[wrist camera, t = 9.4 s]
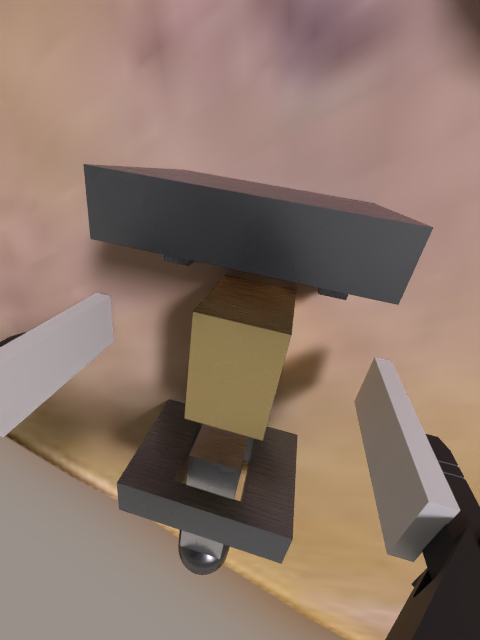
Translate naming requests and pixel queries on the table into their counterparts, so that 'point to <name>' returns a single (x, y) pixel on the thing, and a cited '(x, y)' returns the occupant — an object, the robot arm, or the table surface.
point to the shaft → (211, 490)
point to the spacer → (238, 355)
